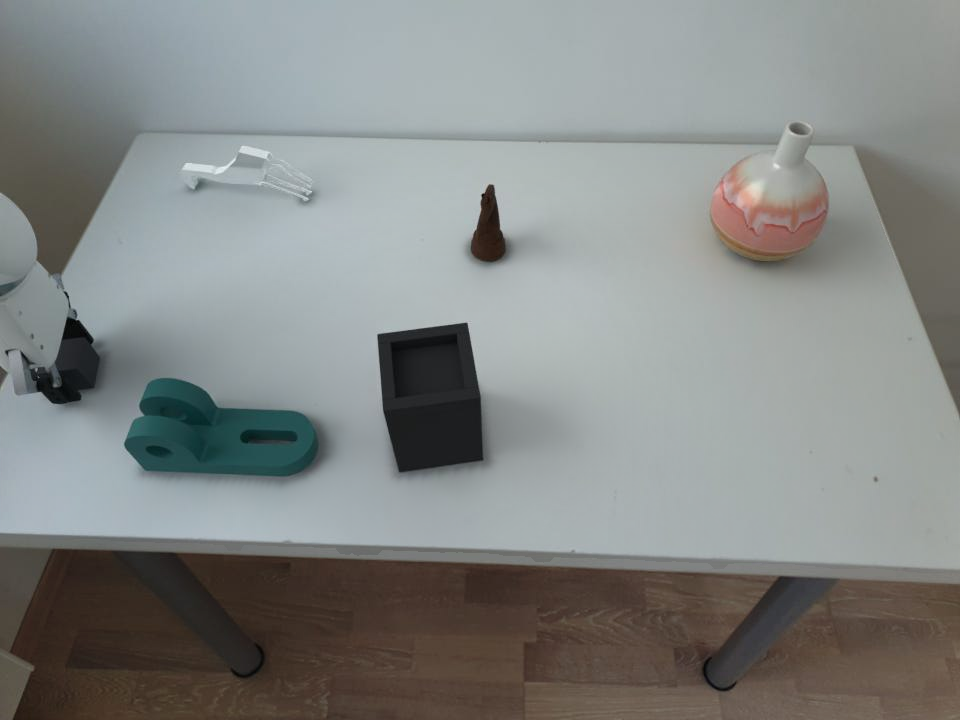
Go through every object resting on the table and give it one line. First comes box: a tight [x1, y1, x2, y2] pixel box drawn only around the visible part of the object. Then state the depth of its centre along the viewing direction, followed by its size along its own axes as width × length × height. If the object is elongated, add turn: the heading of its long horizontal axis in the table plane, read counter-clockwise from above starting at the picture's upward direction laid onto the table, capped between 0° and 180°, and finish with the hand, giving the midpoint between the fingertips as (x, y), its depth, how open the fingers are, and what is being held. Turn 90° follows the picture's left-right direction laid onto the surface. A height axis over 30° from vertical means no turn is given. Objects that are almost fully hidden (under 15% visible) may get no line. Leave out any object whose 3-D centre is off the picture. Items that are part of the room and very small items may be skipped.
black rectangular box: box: [376, 322, 484, 473], centre depth 72 cm, size 9×9×12 cm
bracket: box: [123, 377, 319, 477], centre depth 74 cm, size 18×7×8 cm, turn 87°
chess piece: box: [470, 183, 507, 263], centre depth 89 cm, size 5×5×10 cm
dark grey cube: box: [36, 337, 101, 391], centre depth 81 cm, size 4×4×4 cm
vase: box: [709, 119, 830, 262], centre depth 86 cm, size 14×14×18 cm
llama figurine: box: [178, 145, 315, 202], centre depth 99 cm, size 2×11×18 cm
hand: (74, 370), depth 82 cm, fingers open, 7 cm apart
